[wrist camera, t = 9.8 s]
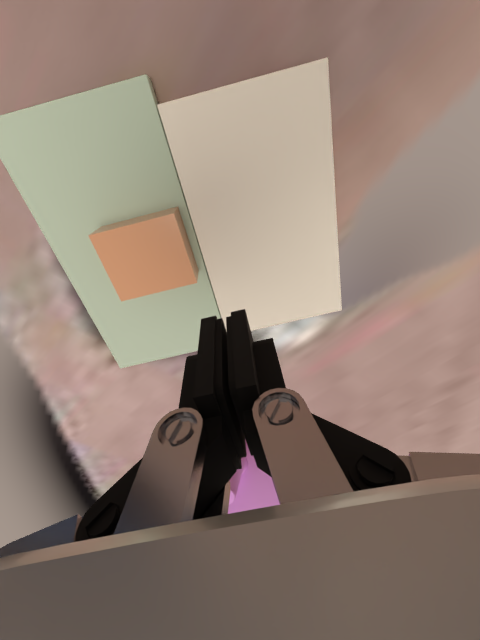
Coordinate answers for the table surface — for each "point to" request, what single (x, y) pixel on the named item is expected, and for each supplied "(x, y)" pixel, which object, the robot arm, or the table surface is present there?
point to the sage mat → (107, 207)
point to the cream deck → (262, 192)
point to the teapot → (251, 487)
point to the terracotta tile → (146, 254)
